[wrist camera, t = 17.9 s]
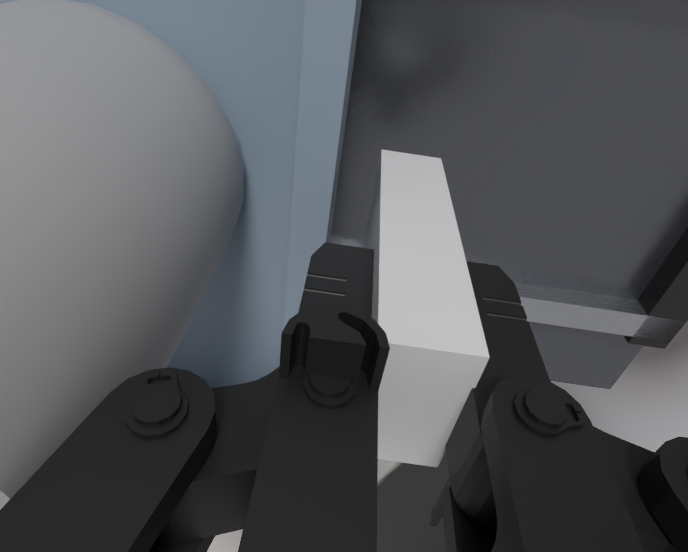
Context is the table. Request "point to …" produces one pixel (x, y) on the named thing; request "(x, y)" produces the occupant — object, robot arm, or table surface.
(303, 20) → the cart
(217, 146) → the cup
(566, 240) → the track
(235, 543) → the table surface
